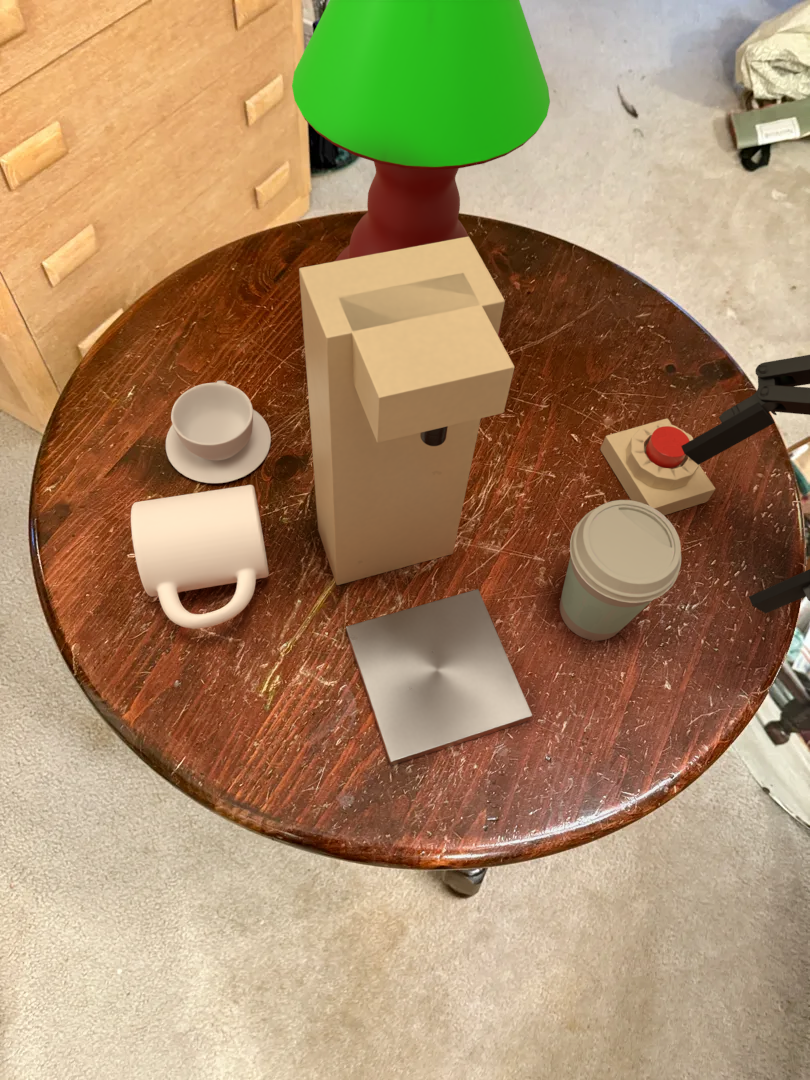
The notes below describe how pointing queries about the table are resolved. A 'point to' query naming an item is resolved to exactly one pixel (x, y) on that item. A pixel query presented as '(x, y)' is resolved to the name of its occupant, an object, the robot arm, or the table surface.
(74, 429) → the table surface
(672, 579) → the coffee cup
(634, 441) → the control block
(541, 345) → the table surface
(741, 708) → the table surface
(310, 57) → the table lamp
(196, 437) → the teacup
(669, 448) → the red push button
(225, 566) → the mug
